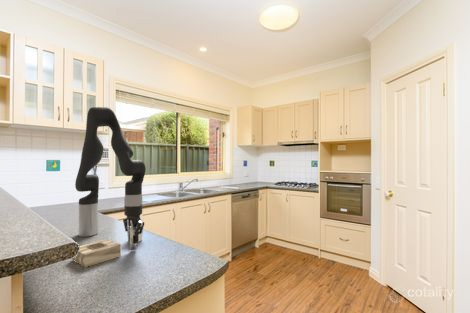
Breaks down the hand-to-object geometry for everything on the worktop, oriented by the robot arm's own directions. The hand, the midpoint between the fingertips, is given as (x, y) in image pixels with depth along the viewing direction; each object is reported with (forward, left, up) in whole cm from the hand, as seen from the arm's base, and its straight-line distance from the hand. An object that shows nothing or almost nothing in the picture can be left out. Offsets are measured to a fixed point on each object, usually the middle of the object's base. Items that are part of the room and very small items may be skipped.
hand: (133, 242), depth 110 cm
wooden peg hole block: (-6, -13, -4) cm, 15 cm away
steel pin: (0, 0, -3) cm, 3 cm away
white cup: (-13, +9, -4) cm, 16 cm away
